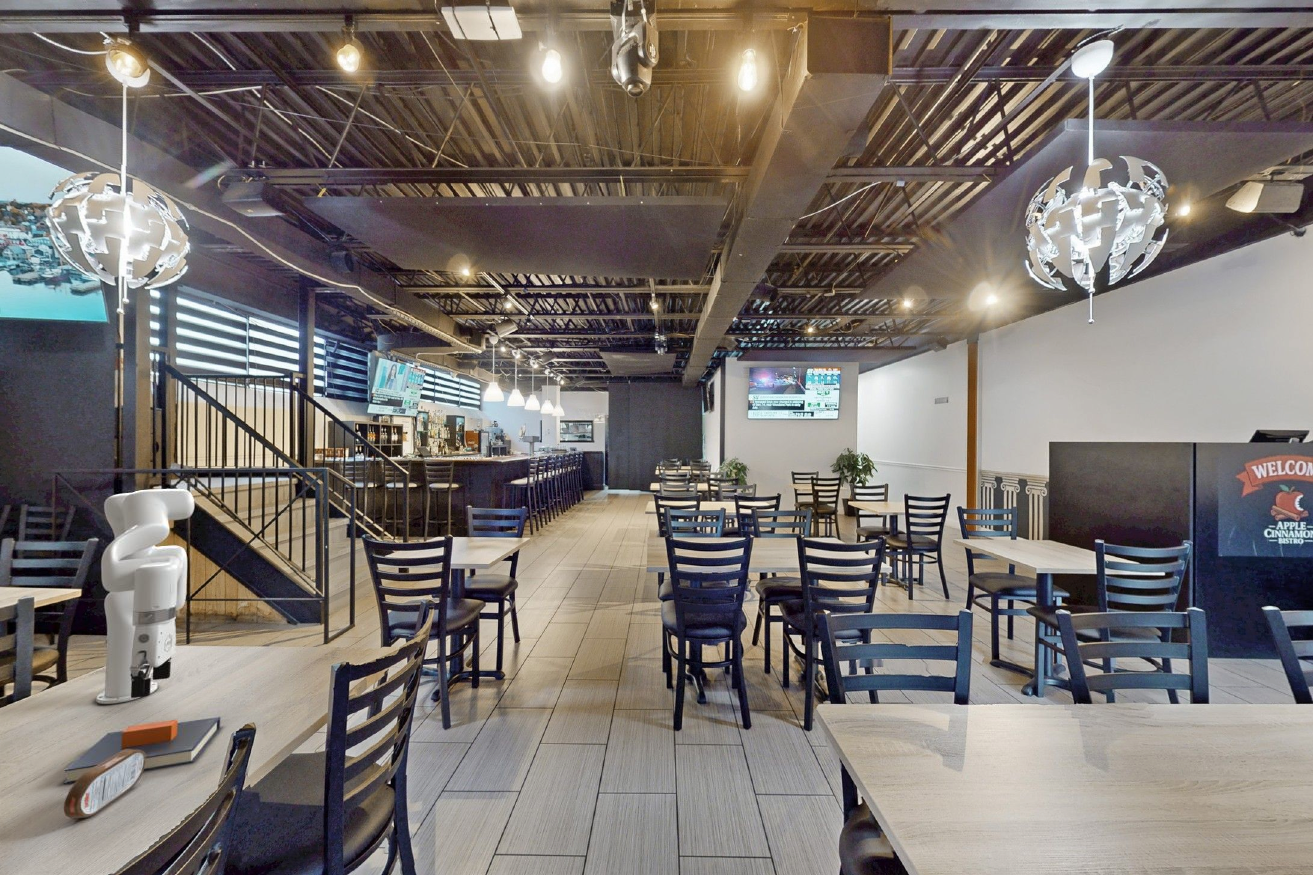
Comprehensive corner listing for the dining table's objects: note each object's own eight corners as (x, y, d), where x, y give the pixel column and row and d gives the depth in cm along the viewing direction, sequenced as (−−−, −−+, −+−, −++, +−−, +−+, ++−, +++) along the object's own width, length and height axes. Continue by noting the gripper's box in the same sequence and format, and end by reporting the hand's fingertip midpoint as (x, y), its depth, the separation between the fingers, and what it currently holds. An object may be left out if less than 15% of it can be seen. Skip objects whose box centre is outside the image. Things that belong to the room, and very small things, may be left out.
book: (107, 745, 127) (108, 732, 127) (220, 728, 136) (220, 716, 136) (63, 784, 112) (64, 770, 112) (192, 762, 121) (193, 749, 121)
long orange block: (128, 741, 124) (129, 726, 124) (176, 734, 127) (177, 719, 127) (121, 748, 121) (122, 732, 121) (171, 740, 124) (171, 725, 124)
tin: (133, 779, 114) (134, 740, 114) (148, 779, 114) (150, 740, 115) (60, 828, 99) (62, 783, 99) (78, 828, 99) (81, 782, 100)
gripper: (157, 625, 119) (153, 701, 118) (190, 603, 135) (187, 670, 134) (113, 628, 116) (109, 706, 115) (152, 606, 132) (149, 674, 131)
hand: (151, 687), depth 125 cm, fingers open, 9 cm apart
